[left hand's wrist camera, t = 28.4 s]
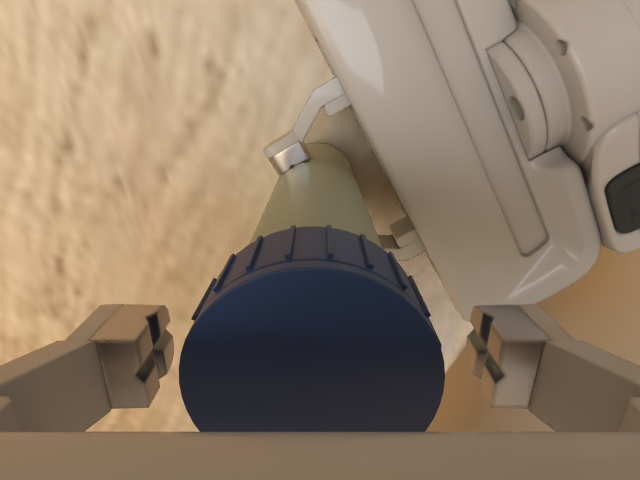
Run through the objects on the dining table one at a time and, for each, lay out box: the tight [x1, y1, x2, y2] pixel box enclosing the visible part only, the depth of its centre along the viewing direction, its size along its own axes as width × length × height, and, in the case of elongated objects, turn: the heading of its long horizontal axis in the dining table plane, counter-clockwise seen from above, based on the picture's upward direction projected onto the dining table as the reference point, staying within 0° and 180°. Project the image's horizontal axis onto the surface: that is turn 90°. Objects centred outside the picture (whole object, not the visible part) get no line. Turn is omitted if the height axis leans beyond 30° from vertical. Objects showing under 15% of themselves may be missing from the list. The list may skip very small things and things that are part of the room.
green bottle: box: [249, 143, 382, 248], centre depth 17 cm, size 5×5×18 cm
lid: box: [179, 225, 445, 432], centre depth 9 cm, size 5×5×2 cm
